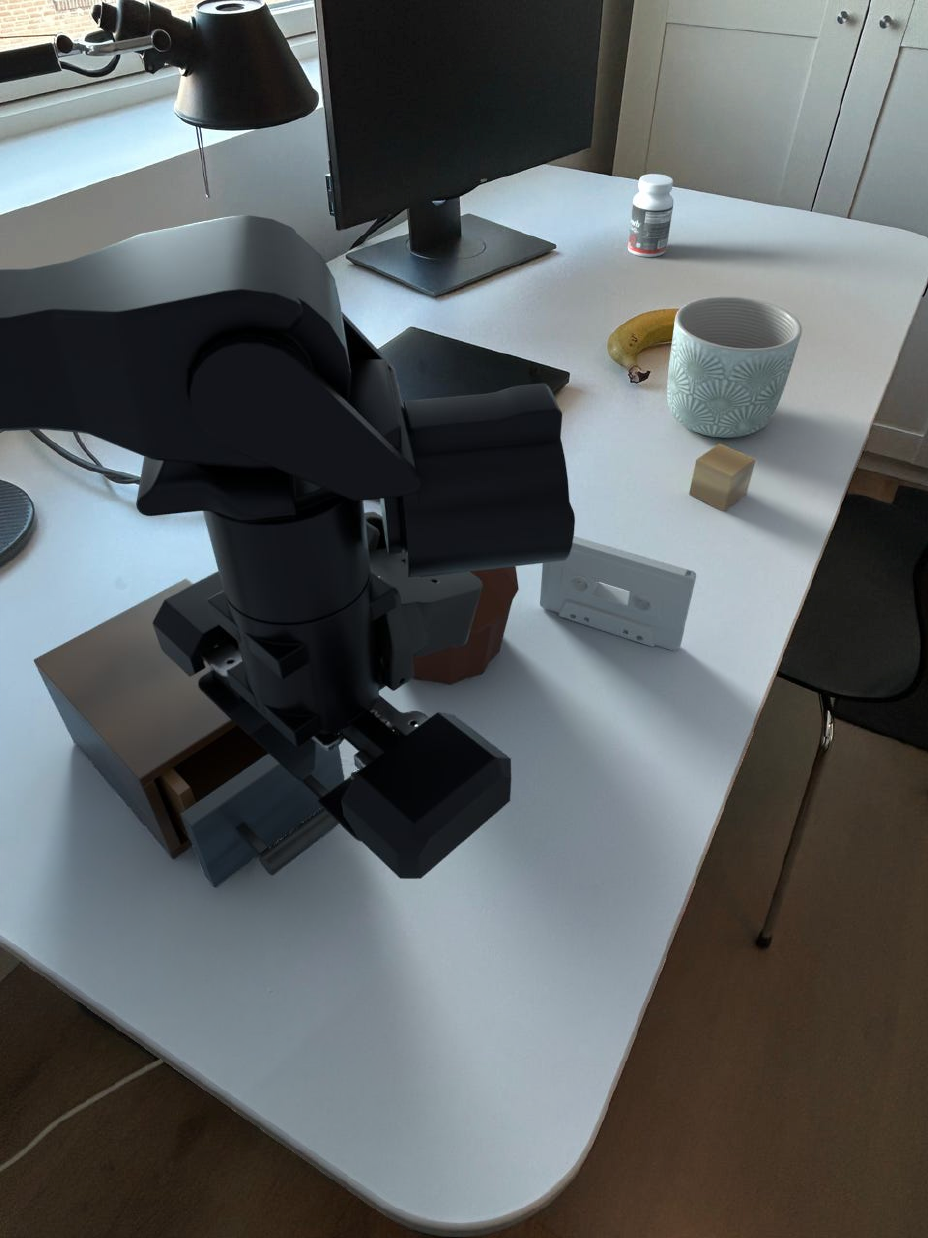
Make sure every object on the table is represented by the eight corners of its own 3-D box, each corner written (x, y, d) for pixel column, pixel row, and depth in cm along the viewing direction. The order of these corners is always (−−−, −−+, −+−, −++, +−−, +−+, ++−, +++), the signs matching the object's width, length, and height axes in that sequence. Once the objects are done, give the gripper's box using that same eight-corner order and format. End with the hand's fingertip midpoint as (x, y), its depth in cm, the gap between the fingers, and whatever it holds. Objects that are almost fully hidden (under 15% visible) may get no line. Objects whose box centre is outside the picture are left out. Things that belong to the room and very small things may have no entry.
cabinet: (317, 757, 62) (300, 675, 56) (173, 860, 56) (138, 779, 50) (210, 660, 69) (186, 577, 63) (73, 742, 63) (32, 659, 58)
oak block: (723, 511, 83) (732, 476, 80) (688, 494, 85) (695, 459, 82) (746, 494, 85) (756, 459, 82) (711, 477, 87) (719, 442, 84)
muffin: (452, 578, 76) (451, 482, 69) (545, 644, 70) (553, 547, 63) (342, 643, 71) (329, 546, 64) (433, 722, 65) (428, 624, 58)
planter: (635, 413, 96) (649, 317, 89) (709, 378, 102) (728, 285, 94) (725, 462, 89) (749, 363, 82) (799, 422, 95) (828, 325, 87)
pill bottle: (623, 243, 132) (632, 172, 125) (661, 242, 132) (671, 171, 125) (631, 258, 128) (640, 186, 121) (670, 257, 128) (681, 184, 121)
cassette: (536, 610, 73) (541, 537, 68) (545, 597, 74) (550, 524, 69) (676, 656, 69) (693, 583, 64) (683, 641, 71) (700, 568, 65)
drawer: (384, 824, 57) (377, 760, 53) (251, 931, 52) (230, 870, 47) (240, 691, 66) (223, 626, 61) (113, 771, 60) (83, 707, 56)
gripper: (615, 589, 34) (581, 820, 44) (314, 411, 43) (346, 637, 54) (396, 754, 28) (418, 974, 39) (107, 508, 38) (189, 738, 48)
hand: (339, 805), depth 45 cm, fingers open, 5 cm apart
